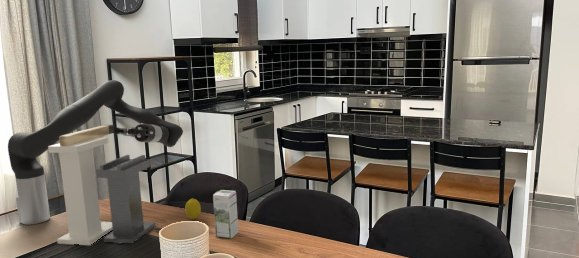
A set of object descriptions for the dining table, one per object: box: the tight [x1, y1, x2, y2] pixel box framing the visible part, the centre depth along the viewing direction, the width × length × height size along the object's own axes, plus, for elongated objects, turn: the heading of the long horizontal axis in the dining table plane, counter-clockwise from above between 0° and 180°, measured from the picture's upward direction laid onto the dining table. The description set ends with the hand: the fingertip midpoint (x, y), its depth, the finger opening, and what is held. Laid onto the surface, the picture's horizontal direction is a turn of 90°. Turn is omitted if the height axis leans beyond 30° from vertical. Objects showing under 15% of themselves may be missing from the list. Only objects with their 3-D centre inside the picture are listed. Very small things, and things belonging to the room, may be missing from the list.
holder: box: [95, 154, 157, 243], centre depth 143 cm, size 10×15×26 cm, turn 169°
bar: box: [59, 124, 115, 146], centre depth 146 cm, size 3×24×3 cm, turn 169°
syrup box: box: [212, 189, 239, 239], centre depth 141 cm, size 6×6×14 cm
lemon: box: [184, 198, 202, 221], centre depth 156 cm, size 6×6×8 cm
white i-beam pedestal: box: [47, 136, 113, 246], centre depth 144 cm, size 12×16×32 cm
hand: (120, 130), depth 162 cm, fingers open, 8 cm apart
